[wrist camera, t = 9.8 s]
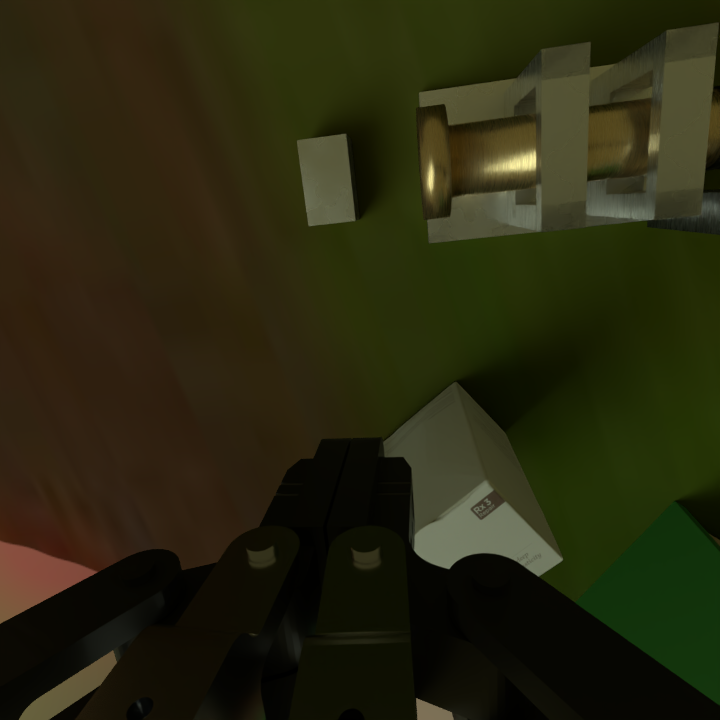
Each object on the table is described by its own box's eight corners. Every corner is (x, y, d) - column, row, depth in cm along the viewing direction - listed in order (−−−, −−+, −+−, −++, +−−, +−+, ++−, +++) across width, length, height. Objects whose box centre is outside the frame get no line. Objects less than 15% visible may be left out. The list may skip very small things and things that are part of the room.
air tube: (788, 65, 25) (887, 30, 20) (772, 179, 27) (861, 173, 22) (415, 117, 28) (417, 97, 23) (422, 218, 30) (425, 222, 24)
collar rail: (694, 55, 28) (885, -43, 17) (680, 223, 31) (836, 236, 20) (301, 112, 31) (240, 60, 20) (321, 260, 34) (277, 290, 23)
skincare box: (427, 491, 39) (436, 654, 25) (375, 440, 38) (354, 580, 24) (510, 428, 37) (573, 569, 23) (457, 372, 36) (487, 483, 22)
